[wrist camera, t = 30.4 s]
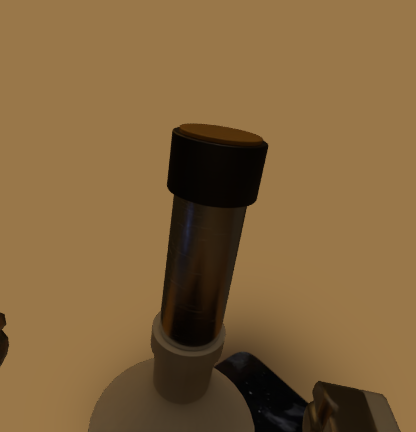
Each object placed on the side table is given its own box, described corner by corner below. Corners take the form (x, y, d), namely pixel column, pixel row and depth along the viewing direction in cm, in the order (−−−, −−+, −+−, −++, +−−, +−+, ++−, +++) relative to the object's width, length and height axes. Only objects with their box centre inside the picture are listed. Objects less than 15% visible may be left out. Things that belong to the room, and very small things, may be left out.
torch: (167, 366, 17) (197, 139, 12) (143, 310, 21) (160, 119, 16) (240, 346, 19) (289, 145, 15) (207, 298, 23) (237, 126, 18)
